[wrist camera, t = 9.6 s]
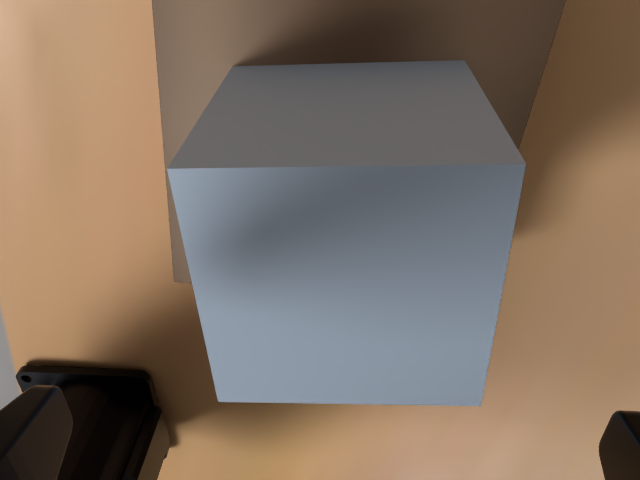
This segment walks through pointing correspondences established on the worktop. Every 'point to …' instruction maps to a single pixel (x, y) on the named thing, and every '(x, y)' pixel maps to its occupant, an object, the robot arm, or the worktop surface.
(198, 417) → the worktop surface
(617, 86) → the worktop surface
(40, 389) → the robot arm
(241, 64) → the walnut block
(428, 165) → the slate-blue cube
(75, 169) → the worktop surface
